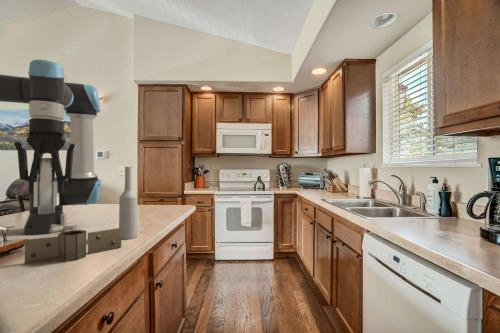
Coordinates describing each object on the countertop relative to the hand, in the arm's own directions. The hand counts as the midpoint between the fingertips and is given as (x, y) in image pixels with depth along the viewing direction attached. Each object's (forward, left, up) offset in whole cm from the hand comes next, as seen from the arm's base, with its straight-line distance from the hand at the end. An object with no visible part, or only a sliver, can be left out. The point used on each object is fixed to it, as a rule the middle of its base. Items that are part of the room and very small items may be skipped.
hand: (46, 205), depth 71 cm
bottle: (-26, +21, -18) cm, 38 cm away
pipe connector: (-31, -1, -18) cm, 36 cm away
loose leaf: (-11, +14, -17) cm, 25 cm away
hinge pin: (0, 0, -2) cm, 2 cm away
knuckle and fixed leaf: (-8, +1, -17) cm, 19 cm away
